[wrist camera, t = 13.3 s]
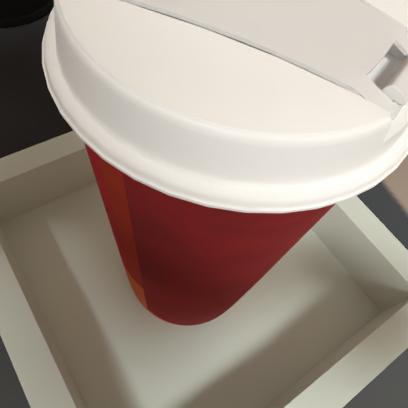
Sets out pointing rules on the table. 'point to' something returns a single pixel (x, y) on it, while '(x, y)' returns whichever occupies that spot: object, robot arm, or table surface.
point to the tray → (178, 334)
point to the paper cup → (226, 128)
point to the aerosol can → (23, 11)
